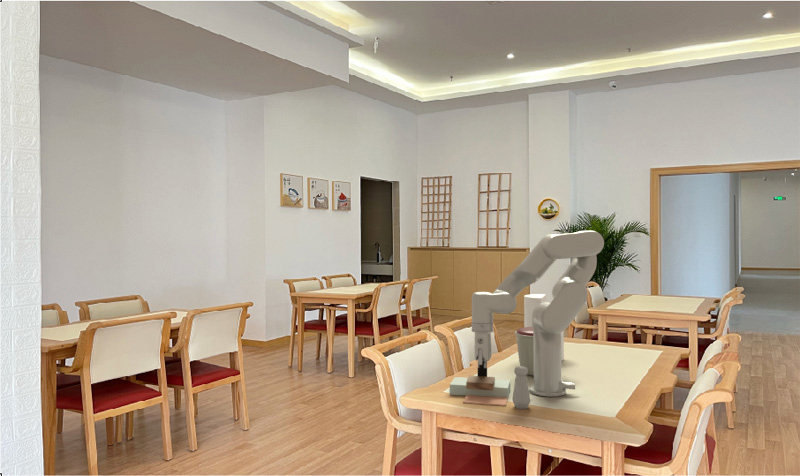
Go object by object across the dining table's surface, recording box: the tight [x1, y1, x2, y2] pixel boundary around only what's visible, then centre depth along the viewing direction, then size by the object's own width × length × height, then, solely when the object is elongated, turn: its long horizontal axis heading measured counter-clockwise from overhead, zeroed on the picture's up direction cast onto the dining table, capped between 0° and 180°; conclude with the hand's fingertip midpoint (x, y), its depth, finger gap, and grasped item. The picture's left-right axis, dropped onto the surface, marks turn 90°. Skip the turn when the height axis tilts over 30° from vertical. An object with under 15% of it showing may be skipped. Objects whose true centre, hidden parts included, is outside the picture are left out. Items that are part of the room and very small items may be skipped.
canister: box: [514, 327, 534, 377], centre depth 229 cm, size 18×18×21 cm
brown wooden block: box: [466, 375, 495, 390], centre depth 197 cm, size 9×6×2 cm, turn 75°
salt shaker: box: [512, 365, 532, 410], centre depth 184 cm, size 6×6×13 cm
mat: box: [462, 395, 509, 407], centre depth 192 cm, size 14×9×1 cm, turn 75°
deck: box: [449, 376, 511, 399], centre depth 202 cm, size 20×11×4 cm, turn 75°
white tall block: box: [523, 293, 565, 362], centre depth 257 cm, size 17×17×28 cm
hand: (482, 379), depth 201 cm, fingers closed
